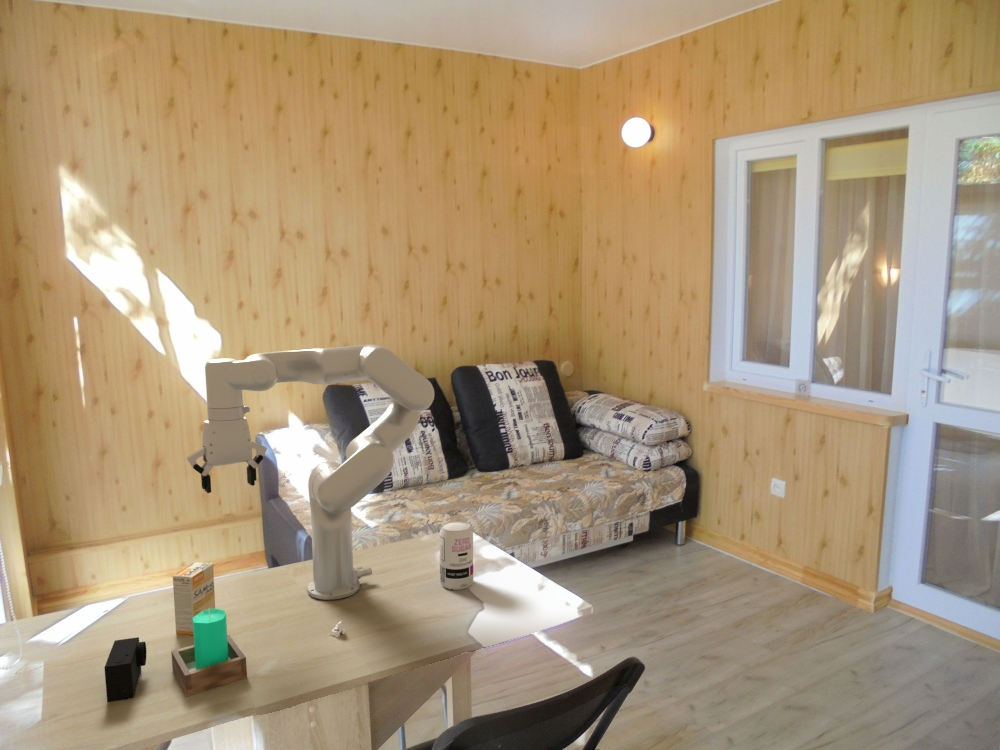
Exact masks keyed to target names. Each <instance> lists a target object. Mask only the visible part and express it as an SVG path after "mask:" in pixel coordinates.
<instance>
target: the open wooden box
mask: <svg viewBox="0 0 1000 750" xmlns="http://www.w3.org/2000/svg"><path fill="white" fill-rule="evenodd" d="M227 642H228V659H229V660H227V661H224V662H221V663H217V664H214V665H211V666H207V667H204V668H200V669H197V670H196V665H195V649H194V644H192V645H189V646H185V647H182V648H177V649H174V650H171V667H172V672H173V674H174V675H175V678H176V680H177V681H178V683H179V685H180V688H181V689H182V691H183V693H184V694H185V697H188V696H192V695H195V694H197V693H201V692H204V691H208V690H211V689H214V688H217V687H221V686H223V685H226V684H229V683H232V682H236V681H239V680H240V681H241V680H243V679H246V678H247V677H248V674H247V673H248V670H247V657H246V655H245V654H244V653H243V651H242V650H241V649H240V647H239V646H238V644H237V643H236V642H235V641H234V639H233V638H232V637H231V635H229V634H227Z"/></svg>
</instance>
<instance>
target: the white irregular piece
mask: <svg viewBox="0 0 1000 750" xmlns="http://www.w3.org/2000/svg"><path fill="white" fill-rule="evenodd" d="M334 626H335V627H333V629H332V630H331V631H330V634H329V636H331V637H332V636H333V637H334V638H339V637H340V634H342V635H344V634H345V633H346V629H345V628H344V624H343V620H340V621H339V622H338V623H336V624H335V625H334Z"/></svg>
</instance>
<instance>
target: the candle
mask: <svg viewBox="0 0 1000 750" xmlns="http://www.w3.org/2000/svg"><path fill="white" fill-rule="evenodd" d="M193 633H194V635H193V645H194V649H195V665H196V670H197V669H200V668H204V667H207V666H211V665H214V664H217V663H221V662H224V661H227V660H229V659H228V642H227V635H228V625H227V614H226V610H225V609H222V608H215V609H209V608H208V610H204V611H202V612H200V613H199V614H198V615H196V616H195V617H193Z"/></svg>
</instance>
